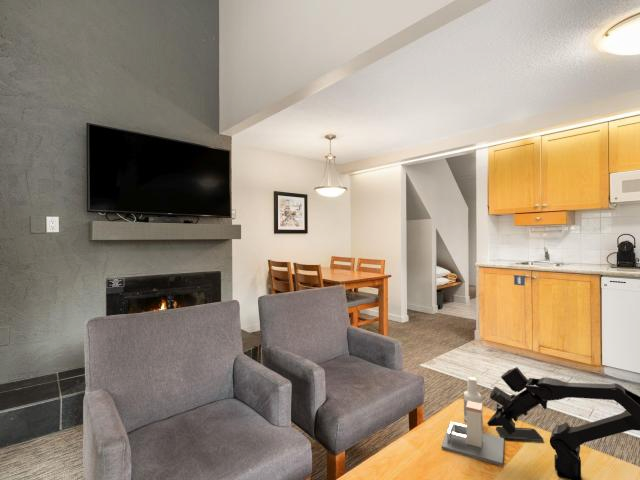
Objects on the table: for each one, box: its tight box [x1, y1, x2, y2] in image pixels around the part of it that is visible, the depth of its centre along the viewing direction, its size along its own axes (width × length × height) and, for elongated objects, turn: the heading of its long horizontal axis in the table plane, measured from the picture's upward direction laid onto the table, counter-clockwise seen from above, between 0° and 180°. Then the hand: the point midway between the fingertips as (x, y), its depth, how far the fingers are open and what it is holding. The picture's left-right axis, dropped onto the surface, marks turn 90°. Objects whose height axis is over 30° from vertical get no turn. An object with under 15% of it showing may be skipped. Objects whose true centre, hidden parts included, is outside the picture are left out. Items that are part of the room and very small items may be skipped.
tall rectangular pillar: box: [466, 401, 484, 447], centre depth 128 cm, size 5×5×14 cm
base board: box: [441, 424, 505, 467], centre depth 129 cm, size 20×16×1 cm
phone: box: [495, 426, 544, 443], centre depth 134 cm, size 8×1×15 cm
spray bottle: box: [463, 376, 482, 422], centre depth 145 cm, size 7×7×18 cm
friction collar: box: [446, 421, 467, 447], centre depth 131 cm, size 7×9×4 cm
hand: (488, 424), depth 126 cm, fingers closed
